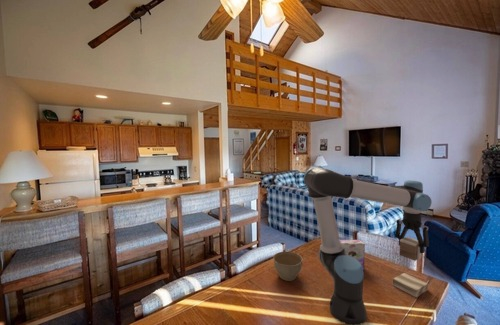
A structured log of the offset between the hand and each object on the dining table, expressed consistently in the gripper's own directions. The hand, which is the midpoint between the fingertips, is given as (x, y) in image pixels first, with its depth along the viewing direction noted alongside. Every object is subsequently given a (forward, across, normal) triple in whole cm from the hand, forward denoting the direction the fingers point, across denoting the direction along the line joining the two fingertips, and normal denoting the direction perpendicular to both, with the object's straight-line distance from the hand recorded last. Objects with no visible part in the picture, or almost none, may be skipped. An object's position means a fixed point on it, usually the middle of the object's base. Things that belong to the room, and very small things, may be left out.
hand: (410, 255), depth 115 cm
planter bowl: (+17, +41, +47) cm, 65 cm away
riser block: (+18, 0, 0) cm, 18 cm away
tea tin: (0, 0, 0) cm, 0 cm away
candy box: (+18, +28, +9) cm, 34 cm away
